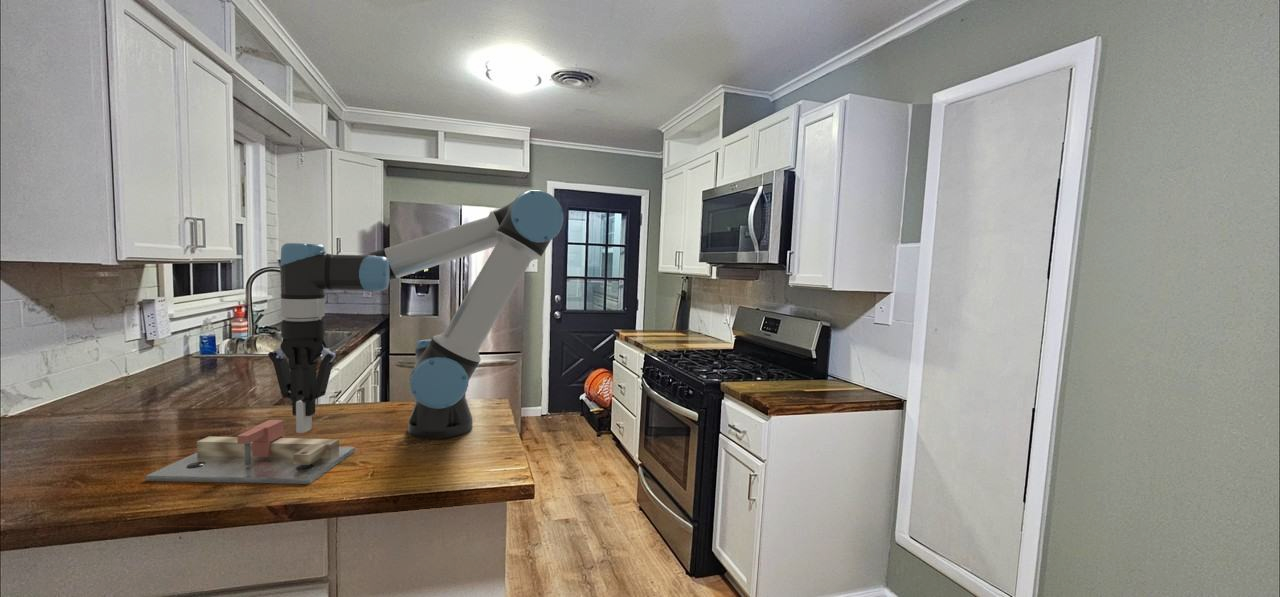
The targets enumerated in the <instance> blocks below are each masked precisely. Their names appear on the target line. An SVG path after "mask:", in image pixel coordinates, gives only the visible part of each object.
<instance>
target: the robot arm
mask: <svg viewBox="0 0 1280 597" xmlns="http://www.w3.org/2000/svg"><path fill="white" fill-rule="evenodd" d="M563 224H564V212H563V207H562V206H561V204H560V202H559V201H558V200H557V199H556V198H555V197H554V196H553V195H552V194H550V193H548V192H547V191H544V190H537V189H535V190H534V189H533V190H532V189H531V190H526V191H524V192H522V193H520V194H519V195H518V196H517V197H516V198H515V200H513V201H512V202H510V203H508V204H506V205H505V206H503V207H500V208H498V209H494V210H491V211H490V212H489V214H488V215H487V216H486V217H483V218H479V219H477V220H473V221H469V222H465V223H463V224H460V225H455V226H453V227H451V228H446V229H444V230H440V231H437V232H434V233H429V234H427V235H424V236H422V237H417V238H414V239H411V240H408V241H405V242H402V243H398V244H395V245H392V246H389V247H386V248H383V249H379V250H375V251H373V252H368V253H366V254H359V255H358V254H334V253H326V250H325V249H326V248H325V246H324V244H321V243H319V244H318V243H317V244H315V243H300V242H299V243H298V242H297V243H296V242H285V243H284V244H282V246H281V249H280V264H279V271H280V272H279V274H280V317H281V318H283V319H282V320H281V321H280V337H281V338H282V341H281V343H280V347H278V348H277V349H275V350H273V351H269V352H268V353H267V356H268V357H269V359H270V360H271V362H272V364H273V366H274V370H275V371H274V372H275V375H276V378H277V382H278V386H279V390H280V393H281V397H282V398H284V399H285V398H286V399H287V398H288V399H290V400H291V405H292V407H291V408H292V415H293V416H295V424H296V425H295V431H296V433H297V434H298V433H299V434H304V433H306V432H309V430H312V428H313V427H312V424H313V423H312V422H313V421H312V420H313V418H312V416H313V415H315V413H316V400H317V399H319V398H322V397H323V396H325V395H326V393H327V388H328V385H329V380H330V376H331V372H332V369H333V364H334V363H335V360H336V359H337V358H338V356H339V354H338V352H336V351H331V350H330V349H328V348H327V344H326V342H325V336H326V335H325V334H326V321H325V320H324V319H323V317H325V316H326V314H325V313H326V312H325V311H326V310H325V305H326V304H325V299H326V298H325V296H326V294H325V291H348V292H349V291H351V292H353V291H354V292H357V291H358V292H369V293H371V292H382V291H385V290H388V288H389V285H390V282H391V281H393V280H396V279H399V278H403V277H404V276H408V275H411V274H414V273H418V272H420V271H423V270H427V269H430V268H433V267H436V266H439V265H443V264H445V263H448V262H451V261H455V260H457V259H461V258H464V257H466V256H470V255H473V254H476V253H479V252H482V251H485V250H488V249H491V248H493V250H492V252H491V253H490V254H489V257H488V258H487V260H486V261H485V263H484V265H483V267H482V268H481V270H480V271H479V273H478V275H477V277H476V278H475V280H474V281H473V282H472V284H471V286H470V288H469V290H468V292H467V293H466V295H465V297H464V298H463V300H462V302H461V303H460V305H459V307H458V308H457V310H456V311H455V313H454V314H453V315H454V316H452V319H451V320H450V322H449V323H448V325H447V327H446V328H445V330H444V332H442V333H439V334H436V335H434V336H432V337H431V339H420V340H418V341H417V342H416V345H415V350H414V353H415V365H414V367H413V369H412V371H411V372H410V375H409V376H410V378H409V386H410V391H411V393H412V395H413V397H414V399H415V403H414V405H413V408H412V411H411V415H410V416H409V420H408V426H407V427H408V428H407V430H408V431H407V433H408V434H409V436H411V437H414V438H417V439H424V440H441V439H449V438H453V437H458V436H461V435H464V434H466V433H468V432H469V431H471V430H472V429H473V416H472V413H471V410H470V407H469V404H468V400H467V398H466V397H467V396H466V393H467V390H468V388H469V381H470V380H471V378H472V376H473V375H474V373H475V371H476V369H478V368H477V367H478V366H479V364H480V362H481V360H482V358H481V356H480V352H479V351H480V348H481V347H482V345H483V344H484V342H485V340H486V339H487V337H488V335H489V334H490V332H491V331H492V328H493V327H494V325H495V323H496V322H497V320H498V318H499V317H500V315H501V313H502V311H503V310H504V308H505V306H506V305H507V303H508V301H509V300H510V298H511V297H512V294H513V293H514V292H515V289H516V287H517V286H518V284H519V282H520V280H521V279H522V277H523V276H524V274H525V272H526V270H527V269H528V267H529V265H530V264H531V262H532V261H534V260H538V259H541V258H542V256H543V254H544V253H545V252H546V249H547V248H548V246H549V244H550V243H551V242H552V240H553V239H554V238H556V237H557V236H558V235H559V233H560V231H561V229H562V228H563ZM319 359H320V360H321V362H320V365H319ZM318 365H319V368H318V371H317V367H318Z"/></svg>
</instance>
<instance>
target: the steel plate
mask: <svg viewBox="0 0 1280 597" xmlns="http://www.w3.org/2000/svg"><path fill="white" fill-rule="evenodd" d="M355 452H356V447H355V446H339V453H338V454H337V455H336V456H334V457H333V458H331V459H324V458H319V459H317V460H316V461H314V462H313V463H311V464H310V465H308V467H307V468H301V465H297V464H294V458H277V457H251V464H250V465H245V457H230V456H197V452H194V453H193V454H190V455H188V456H186V457H184V458H182V459H179V460H178V461H174V462H173V463H171V464H169V465H166V466H164V467H162V468H160V469H157V470H156V471H153V472H151V473H148V474H147V475H145V480H146V481H147V482H148V481H149V482H155V481H156V482H186V483H188V482H193V483H195V482H196V483H236V484H238V483H239V484H240V483H241V484H243V483H244V484H247V483H248V484H289V485H290V484H292V485H293V484H294V485H298V484H299V485H301V484H302V485H310V484H312V483H313V482H315V481H316V480H317V479H319V478H320V477H322V476H323V475H325V473H327V472H329V471H330V470H331V469H333V468H334V467H336V466H337V465H338V464H340V463H341V462H342V461H344V460H345V459H347V458H348V457H349V456H350V455H352V454H354V453H355Z"/></svg>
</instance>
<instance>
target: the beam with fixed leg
mask: <svg viewBox="0 0 1280 597" xmlns="http://www.w3.org/2000/svg"><path fill="white" fill-rule="evenodd" d="M339 447H340V439H338V438H335V439H333V438H295V437H294V438H293V437H292V438H290V437H288V438H287V437H285V438H277V439H275V440H273V441H271V442H270V456H268V457H277V458H294V464H297V465H301V468H307V467H308V465H310V464H311V463H313V462H314V461H316V460H317V459H319V458H324V459H331V458H333V457H334V456H336V455H337V454H338V453H339ZM250 448H251V457H253V453H252V442H251V443H250ZM196 451H197V452H196V453H197V456H230V457H245V444H238V443H237V436H211V435H209V436H207V437H204V438H202V439H199V440H197V441H196Z"/></svg>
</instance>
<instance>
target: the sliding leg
mask: <svg viewBox="0 0 1280 597" xmlns="http://www.w3.org/2000/svg"><path fill="white" fill-rule="evenodd" d="M236 437H237V443H238V444H245V465H250V464H251V448H250V443H251V442H252V453H253V457H268V456H270V442H271V441H273V440H275V439H277V438H286V433H285V420H284V419H268V420H266V421H264V422H262V423H259V424H258V425H255V426H253V427H252V428H251V429H249V430H246V431H245V432H242V433H239V434H238V435H237V436H236Z"/></svg>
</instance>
